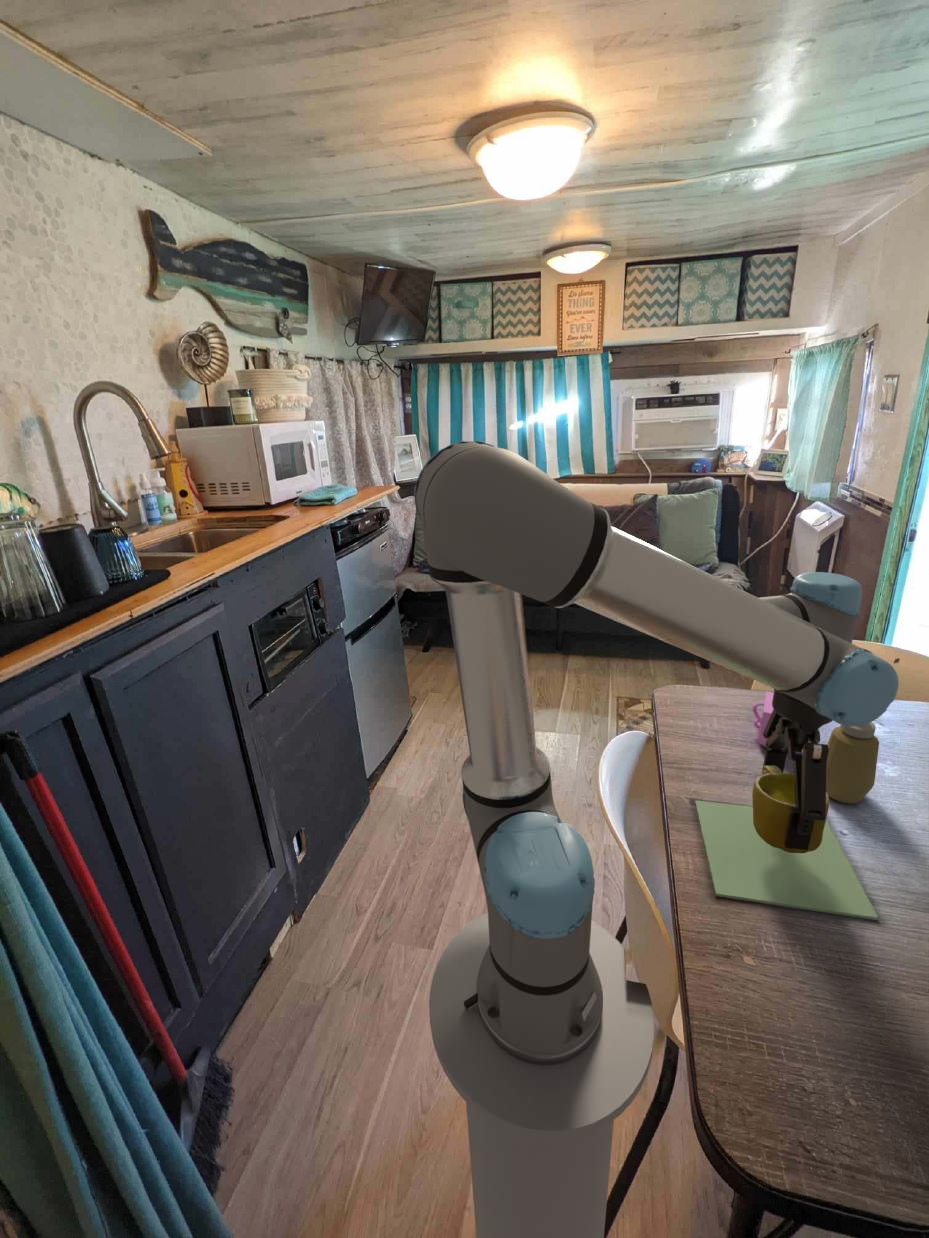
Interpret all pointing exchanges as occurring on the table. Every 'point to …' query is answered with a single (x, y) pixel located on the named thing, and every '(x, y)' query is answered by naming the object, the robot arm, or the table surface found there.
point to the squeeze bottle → (851, 762)
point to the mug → (779, 809)
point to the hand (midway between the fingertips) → (781, 814)
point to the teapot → (764, 716)
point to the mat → (777, 866)
